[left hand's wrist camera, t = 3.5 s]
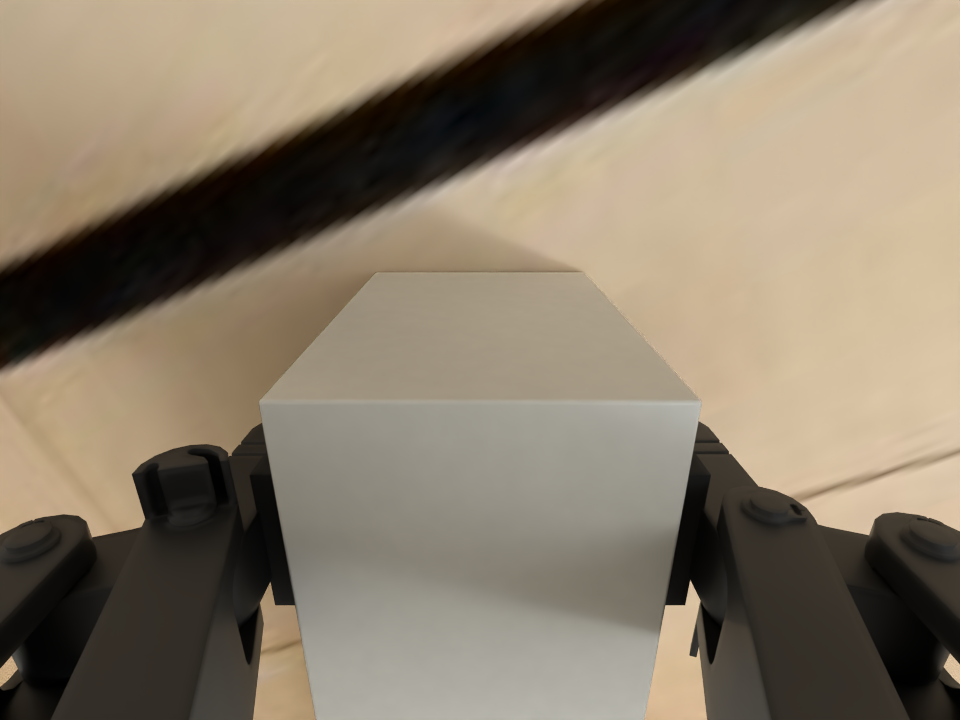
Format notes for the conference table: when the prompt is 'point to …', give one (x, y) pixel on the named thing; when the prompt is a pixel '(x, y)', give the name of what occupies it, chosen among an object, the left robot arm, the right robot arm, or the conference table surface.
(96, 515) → the conference table surface
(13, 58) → the conference table surface
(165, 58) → the conference table surface
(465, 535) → the bar
